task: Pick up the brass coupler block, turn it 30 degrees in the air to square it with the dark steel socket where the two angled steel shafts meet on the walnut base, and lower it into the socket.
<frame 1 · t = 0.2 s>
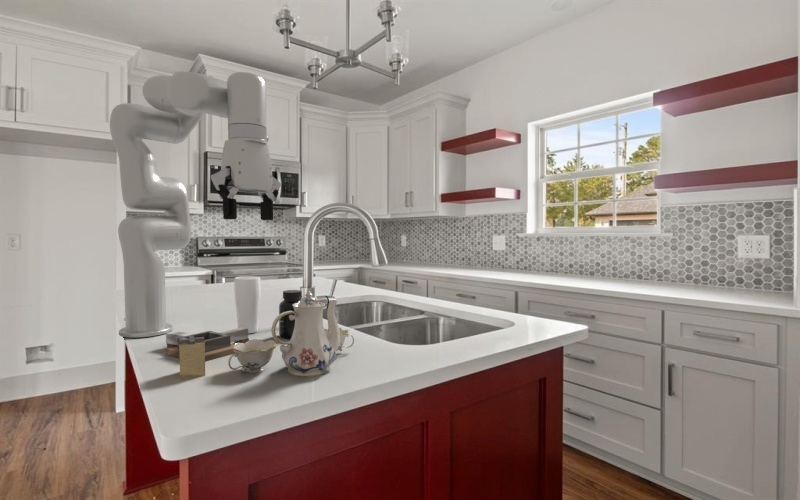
hand: (249, 219, 91), 30 cm above the counter, tool pointing down, fingers open, 9 cm apart
shaft rig: (204, 352, 100), on the counter
supplement bottle: (292, 336, 116), on the counter
drinking glass: (248, 332, 120), on the counter
chinaware: (302, 367, 91), on the counter
coupler: (192, 373, 86), on the counter
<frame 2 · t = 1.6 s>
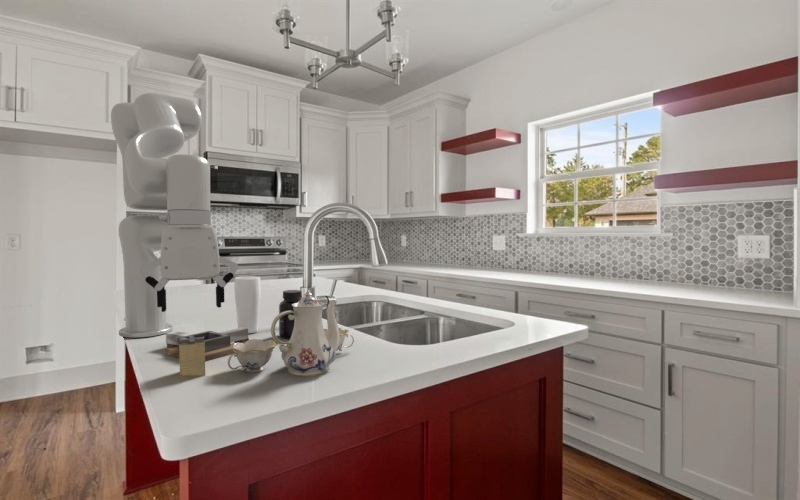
hand: (192, 308, 85), 13 cm above the counter, tool pointing down, fingers open, 9 cm apart
nothing on the counter moved.
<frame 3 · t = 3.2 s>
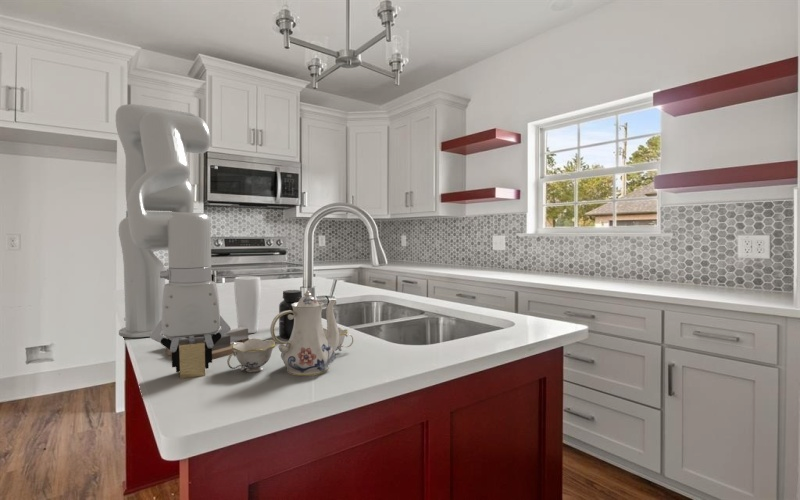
hand: (192, 367, 86), 1 cm above the counter, tool pointing down, fingers closed on coupler, 4 cm apart
coupler: (192, 373, 86), on the counter, touching gripper
everything else where it was.
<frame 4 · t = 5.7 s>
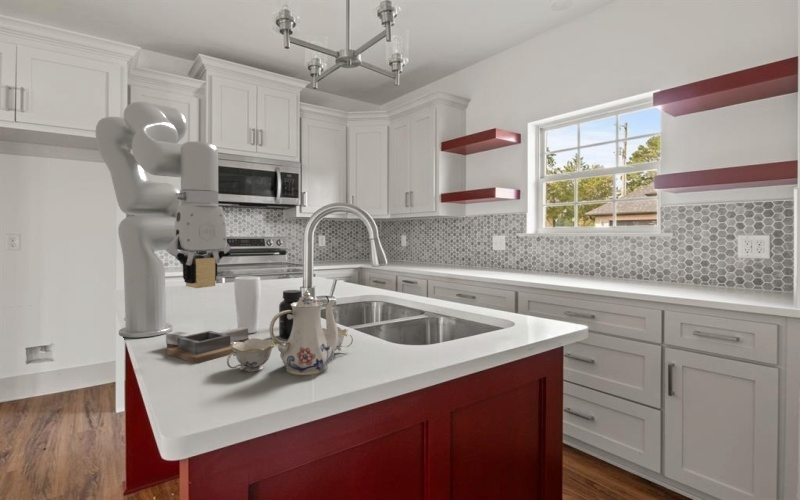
hand: (200, 280, 98), 17 cm above the counter, tool pointing down, fingers closed on coupler, 4 cm apart
coupler: (200, 286, 98), point 16 cm above the counter, touching gripper
everything else where it was.
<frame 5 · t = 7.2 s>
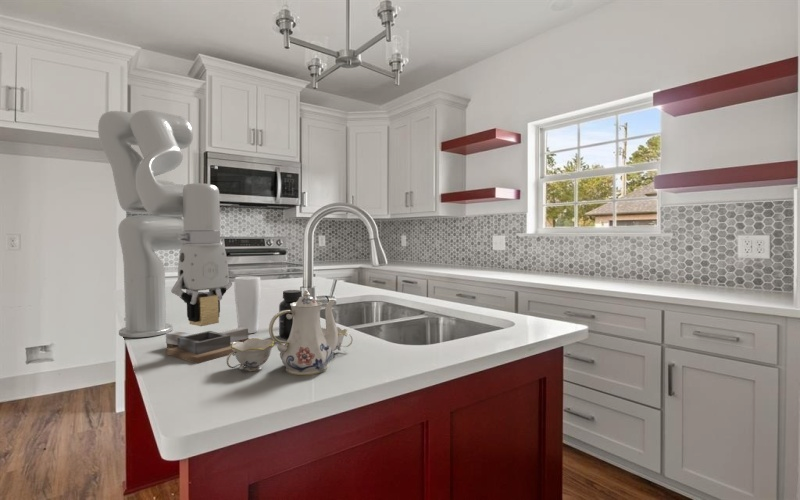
hand: (204, 318, 100), 8 cm above the counter, tool pointing down, fingers closed on coupler, 4 cm apart
coupler: (204, 323, 100), point 7 cm above the counter, touching gripper
when the fingers open (4 cm above the counter, at t = 8.2 s): coupler drops 2 cm, resting on shaft rig.
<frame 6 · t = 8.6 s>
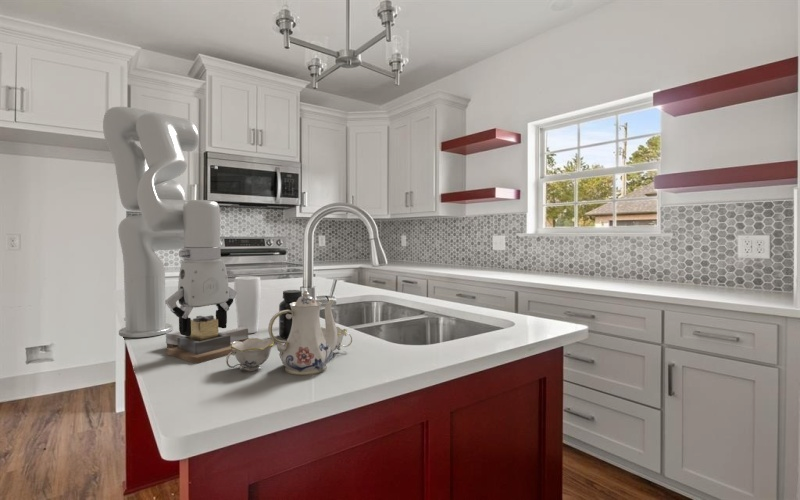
hand: (204, 330, 100), 5 cm above the counter, tool pointing down, fingers open, 8 cm apart
coupler: (204, 347, 100), point 1 cm above the counter, touching shaft rig
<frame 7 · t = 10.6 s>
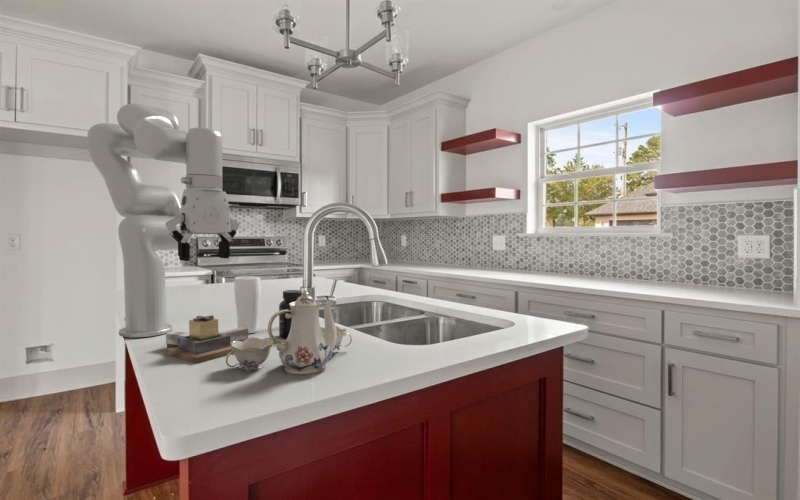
hand: (204, 259, 101), 21 cm above the counter, tool pointing down, fingers open, 9 cm apart
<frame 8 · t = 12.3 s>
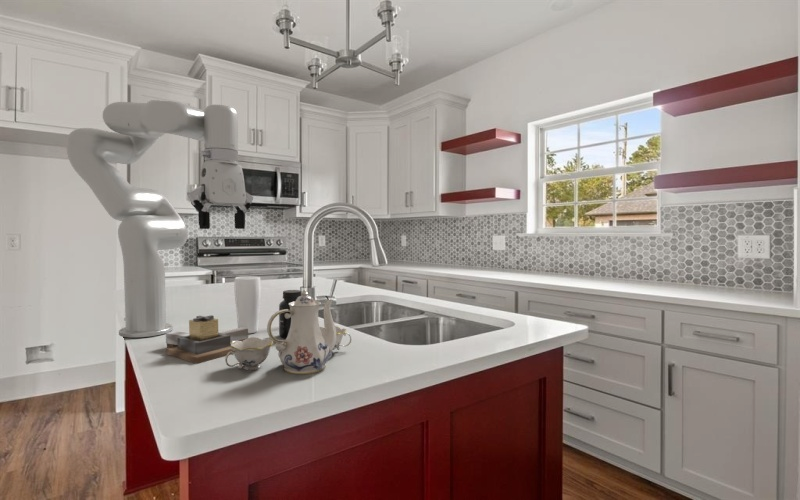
hand: (222, 228, 107), 28 cm above the counter, tool pointing down, fingers open, 9 cm apart
at the end: coupler 0.1 cm off-centre on the shaft rig, point 1.2 cm above the shaft rig's base; coupler tilted 0°; the gripper is holding nothing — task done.
